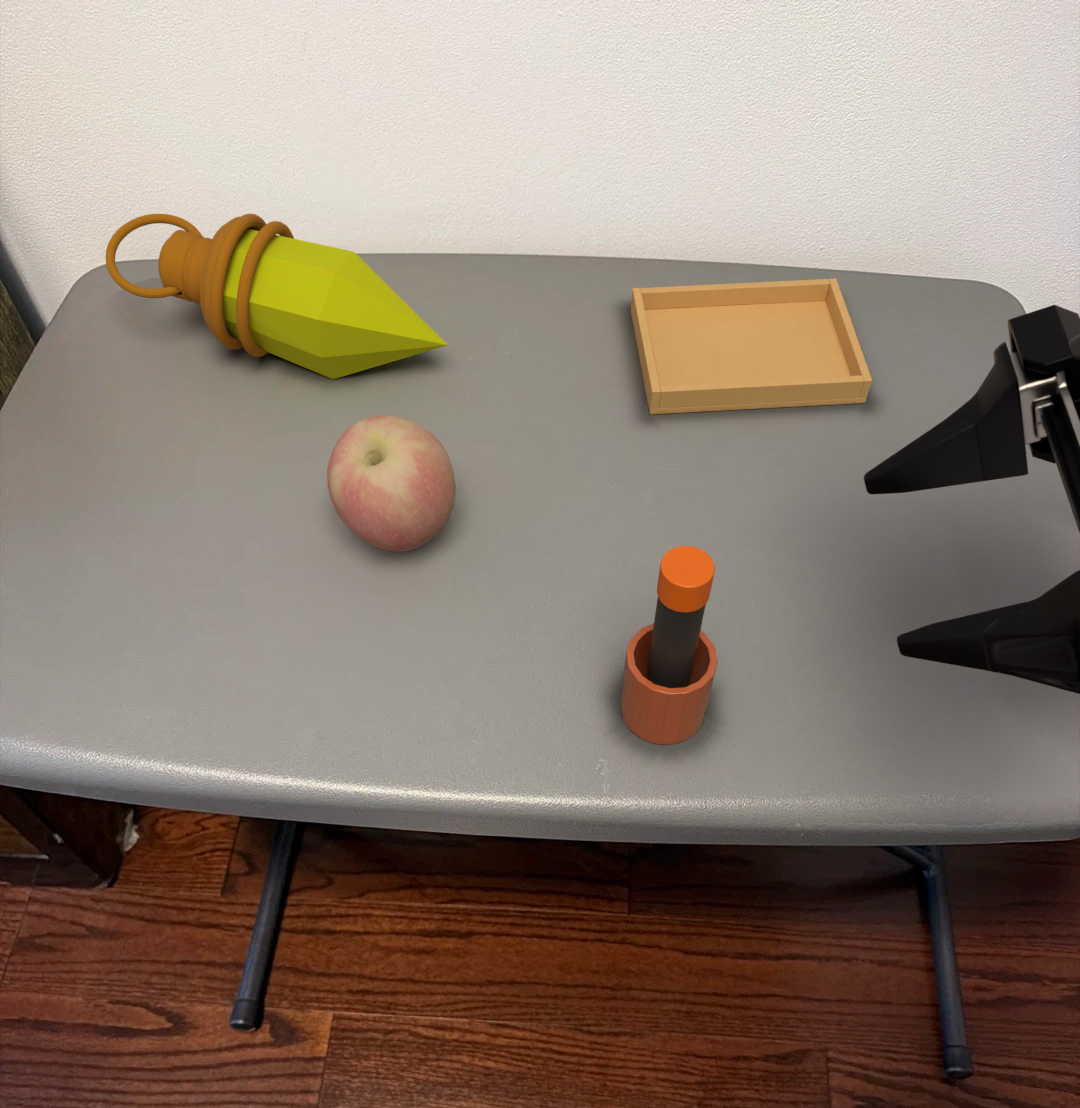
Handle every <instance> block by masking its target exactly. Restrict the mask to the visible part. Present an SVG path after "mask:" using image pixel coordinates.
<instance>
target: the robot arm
mask: <svg viewBox="0 0 1080 1108" xmlns="http://www.w3.org/2000/svg"><path fill="white" fill-rule="evenodd" d="M1007 330H1008V337H1009V338H1008V339H1009V345H1010V347H1009V348H1010V351H1009V349H1008V345H1007V342H1006V341H1003V342H1001V343H1000V344H999V345H997V347H996V348H995V349H994V350H993V361H994V362H993V363H994V364H993V366H992V367H991V369H990V370H989V372H988V373H987V375H986V376H985V378H984V380H983V381H982V383H981V385H980V386H979V387H978V389H977V391H976V392H975V394H974V395H973V396H972V397H971V398H970V399H968V400H967V401H966V402H965V403H964V404H962V405H961V406H960V407H959V408H957V409H955V411H954V412H953V413H951V414H950V415H948V416H947V417H946V418H944V419H943V420H941V421H940V422H939V423H937V424H936V425H935V426H933V427H931V429H929V430H927V431H926V432H924V433H923V434H921V435H920V436H919V437H917V438H916V439H914V440H913V441H911V442H910V443H908V444H906V445H905V446H903V447H902V448H900V449H899V450H898V451H896V452H895V453H893V454H892V455H891V456H889V457H887V458H886V459H884V460H883V461H882V462H880V463H878V464H876V466H874V467H873V468H871V469H870V470H868V471H867V472H866V473H864V476H863V482H864V486H865V489H866V492H867V494H868V495H889V494H891V495H893V494H905V493H913V492H921V491H924V490H925V491H926V490H933V489H939V488H946V487H954V486H958V485H959V486H960V485H961V486H962V485H968V484H974V483H981V482H987V481H988V482H989V481H994V480H1003V479H1009V478H1016V477H1017V478H1018V477H1022V476H1027V475H1029V466H1028V465H1029V464H1028V457H1027V447H1026V446H1027V445H1028V446H1029V450H1030V454H1031V456H1032V457H1033V458H1036V459H1039V460H1042V461H1044V462H1048V463H1051V464H1055V465H1056V468H1057V471H1058V474H1059V476H1060V480H1061V482H1062V485H1063V488H1064V492H1065V494H1066V497H1067V500H1068V504H1069V506H1070V509H1071V512H1072V514H1073V515H1072V516H1073V517H1074V520H1075V523H1076V527H1077V530H1078V532H1079V534H1080V314H1079V313H1077V312H1075V311H1072V310H1070V309H1067V308H1064V307H1061V306H1059V305H1056V304H1052V305H1048V306H1046V307H1043V308H1040V309H1036V310H1034V311H1031V312H1028V313H1024V314H1021V315H1019V316H1015V317H1012V318H1009V319H1008V320H1007ZM896 644H897V647H898V652H899V654H900V655H901V656H903V657H906V658H911V659H917V660H923V661H929V662H933V663H939V664H945V665H952V666H957V667H962V668H963V667H964V668H969V669H975V670H980V671H987V672H991V673H997V674H1002V675H1007V676H1011V677H1016V678H1019V679H1024V680H1027V681H1029V682H1034V683H1037V684H1040V685H1045V686H1049V687H1052V688H1055V689H1058V690H1059V689H1060V690H1064V691H1067V692H1070V693H1074V694H1078V695H1080V569H1079V570H1077V571H1075V572H1073V573H1071V574H1070V575H1068V577H1066V578H1064V579H1063V580H1061V581H1060V582H1058V583H1057V584H1055V585H1054V586H1053V587H1051V588H1050V589H1048V590H1047V591H1046V592H1043V594H1041V595H1040V596H1038V597H1036V598H1033V599H1031V600H1027V601H1023V602H1019V603H1014V604H1010V605H1006V606H1001V607H997V608H993V609H989V610H985V611H980V612H975V613H972V614H968V615H967V614H966V615H963V616H959V617H954V618H950V619H945V620H942V621H937V622H933V623H930V624H926V625H924V626H921V627H917V628H915V629H912V630H909V631H906V632H904V633H901V634H899V635H898V636H897V637H896Z"/></svg>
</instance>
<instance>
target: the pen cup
mask: <svg viewBox="0 0 1080 1108" xmlns="http://www.w3.org/2000/svg"><path fill="white" fill-rule="evenodd" d="M653 626H654V622H652V623H650V624H647V625H645V626H643V627H641V628H640V629H639V630H638V631H637V632H636V633H635V634H634V635H633V636H631V638H630V640H629V643H628V645H627V648H626V652H625V660H624V670H623V676H622V677H623V679H622V685H621V694H620V695H621V696H620V702H621V703H620V712H621V716H622V719H623V721H624V723H625V725H626V727H628V729H629V730H630V731H631V732H632V733H633V734H634V735H636V736H637V737H639V738H640V739H642V740H644V741H646V742H648V743H651V744H657V745H674V744H679V743H682V742H684V741H686V740H688V739H690V738H691V737H692V736H694V735H695V734H696V733H697V732H698V730H699V729H700V728H701V726H702V725H703V722H704V719H705V716H706V711H707V708H708V704H709V699H710V696H711V691H712V687H713V683H714V678H715V675H716V671H717V667H718V656H717V651H716V650H717V649H716V647H715V645H714V643H713V642H712V640H711V639H710V638H709V637H708V635H707V633H706V632H703V631H702V630H700V635H699V640H698V644H697V649H696V654H695V659H694V664H693V669H692V673H691V678H690V683H689V686H687V687H682V688H667V687H663V686H659V685H656V684H654V683H652V682H651V681H649V680H648V679H646V674H647V668H648V661H649V654H650V647H651V640H652V633H653Z"/></svg>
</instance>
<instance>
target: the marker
mask: <svg viewBox="0 0 1080 1108" xmlns="http://www.w3.org/2000/svg"><path fill="white" fill-rule="evenodd" d="M658 570H659V571H658V578H657V585H656V593H657V598H656V599H657V600H656V606H655V613H654V618H653V619H654V620H653V623H654V626H653V633H652V640H651V647H650V654H649V661H648V668H647V674H646V679H648V680H649V681H651V682H652V683H654V684H656V685H659V686H663V687H667V688H682V687H687V686H689V683H690V678H691V673H692V669H693V664H694V659H695V654H696V649H697V644H698V640H699V635H700V631H702V624H703V620H704V615H705V610H706V605H707V603H708V602H709V599H710V596H711V592H712V587H713V582H714V578H715V577H714V576H715V572H716V566H715V562H714V560H713V558H712V556H711V555H709V553H707V551H705V550H704V549H701V548H699V547H696V546H693V545H679V546H675V547H672V548H671V549H669V550H667V552H666V553H665V554H664V555H663V556H662V557H661V560H660V565H659V569H658Z"/></svg>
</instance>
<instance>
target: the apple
mask: <svg viewBox="0 0 1080 1108" xmlns="http://www.w3.org/2000/svg"><path fill="white" fill-rule="evenodd" d="M326 480H327V481H326V482H327V488H328V493H329V494H328V495H329V499H330V501H331V504H332V506H333V508H334V510H335V512H336V514H337V515H338V517H339V519H340V520H341V521H342V522H343V524H344V525H345V526H346V527H347V528H348V529H349V530H350V531H351V532H353V534H355V535H356V537H358V538H359V539H361V540H363V541H364V542H366V543H368V544H370V545H372V546H373V547H376V548H379V549H382V550H386V551H391V552H405V551H410V550H413V549H416V548H419V547H420V546H422V545H424V544H426V543H427V542H429V541H430V540H431V539H433V538H434V537H435V536H436V535H438V534H439V533H440V532H441V531H442V529H443V528H444V527H445V525H446V524H447V522H448V520H449V518H450V516H451V514H452V512H453V508H454V505H455V501H456V493H457V492H456V478H455V472H454V468H453V466H452V462H451V460H450V456H449V454H448V451H447V450H446V448H445V447H444V445H443V443H442V442H441V440H439V438H438V437H436V435H435V434H434V433H432V432H431V431H430V430H428V429H426V428H425V427H423V426H422V425H420V424H419V423H416V422H415V421H413V420H410V419H407V418H403V417H399V416H395V415H388V414H387V415H386V414H381V415H373V416H370V417H366V418H363V419H360V420H358V421H356V422H354V423H353V424H351V425H350V426H349V427H347V429H345V430H344V431H343V432H342V434H341V435H340V437H339V438H338V440H337V441H336V443H335V444H334V447H333V449H332V451H331V454H330V457H329V459H328V464H327V470H326Z"/></svg>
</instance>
